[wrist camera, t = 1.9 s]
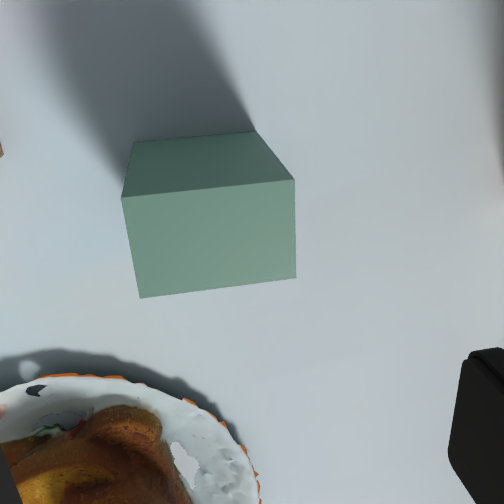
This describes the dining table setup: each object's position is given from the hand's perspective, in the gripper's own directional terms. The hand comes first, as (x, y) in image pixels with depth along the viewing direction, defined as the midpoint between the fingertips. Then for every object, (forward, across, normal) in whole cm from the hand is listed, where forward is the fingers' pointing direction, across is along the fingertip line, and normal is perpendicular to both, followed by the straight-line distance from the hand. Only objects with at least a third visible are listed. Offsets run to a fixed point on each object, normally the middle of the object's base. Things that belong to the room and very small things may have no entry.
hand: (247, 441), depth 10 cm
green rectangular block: (+17, 0, -1) cm, 17 cm away
